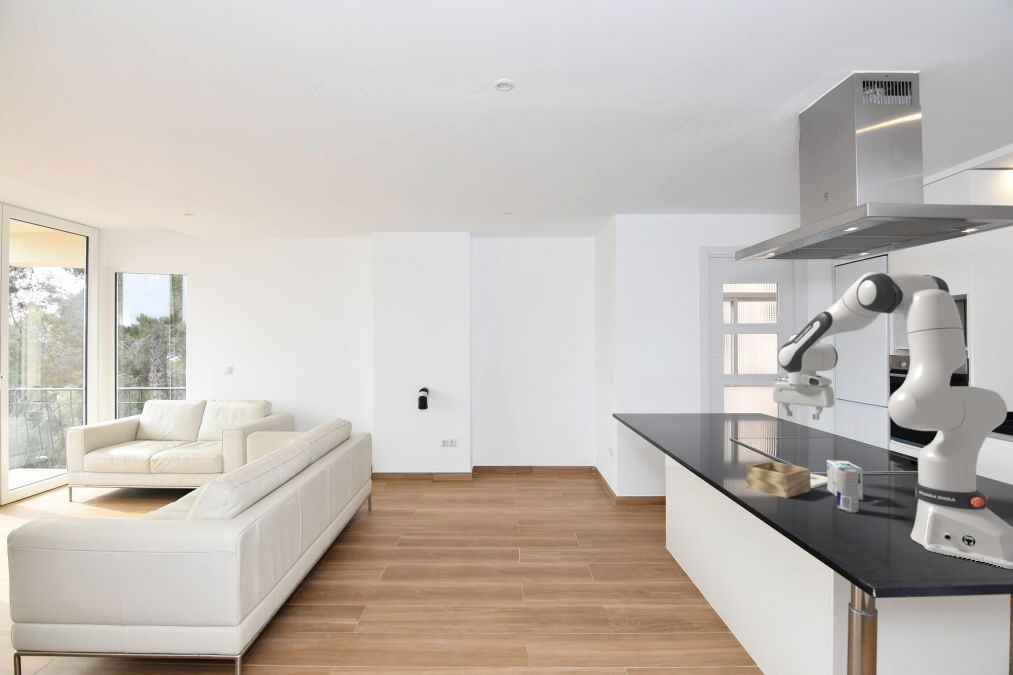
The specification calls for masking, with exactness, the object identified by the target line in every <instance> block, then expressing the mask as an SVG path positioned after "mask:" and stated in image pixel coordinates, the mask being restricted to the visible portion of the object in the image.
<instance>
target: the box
mask: <svg viewBox="0 0 1013 675" xmlns="http://www.w3.org/2000/svg"><path fill="white" fill-rule="evenodd" d="M810 473H811V468H807V467H802V466H797V465H792V464H787V463H783V462H777V461H772V460H768V461H763V462H762V461H761V462H759V463H754V464H749V465H746V466H745V488H746V489H750V490H754V491H758V492H760V493H761V492H762V493H765V494H769V495H772V496H773V495H774V496H777V497H780V498H781V497H782V498H785V499H788V498H792V497H795V496H799V495H801V494H805V493H809V492H811V487H810Z"/></svg>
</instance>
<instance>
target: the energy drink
mask: <svg viewBox="0 0 1013 675" xmlns="http://www.w3.org/2000/svg"><path fill="white" fill-rule="evenodd" d="M836 507H837V508H838V509H842V512H844V513H849V514H850V513H851V514H856V513H858V512H859V500H858V472H857V470H855V469H850V468H838V470H837V496H836Z"/></svg>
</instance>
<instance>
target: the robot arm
mask: <svg viewBox="0 0 1013 675" xmlns="http://www.w3.org/2000/svg"><path fill="white" fill-rule="evenodd" d="M949 288H950V287H949V286H948V283H947V282H946V281H945V280H944V279H943V278H941V277H938V276H936V275H931V274H916V273H907V272H897V273H896V272H893V273H891V272H890V273H884V272H881V271H874V270H873V271H868V272H866V273H864V274H862V275H861V276H860V277H859V278H857V280H855V281H854V282H853V283H852V284H851V285H850V286H849V287H848V289H847V290H846V291H845V292H844V294H842V296H841V297H840V298H839V299H838V300H837V301H836V302H835V303H834V304H832V305H831V306H830V307H828V308H827V309H825V310H824V311H822V312H820V313H819V314H817V315H816V316H815V317H814V318H813V319H812V320H811V321H810V322H808V324H806V325H805V327H803V328H802V329H801V330H800V332H798V333H796V334H793V335H791V336H790V337H789V339H788V340H789V341H788V342H786V343H785V344H783V345H782V346H781V347H780V349H779V350H778V354H777V361H778V364H779V366H780V367H781V368H782V369H783V370H785V371H786V372H787V377H783V378H782V377H777V378H776V379H775V380H773V391H772V392H773V393H772V401H773V402H774V403H776V404H782V407H783V409H784V412H785V416H786V417H790V418H791V417H793V414H794V413H793V411H791V409H790V406H791V405H795V406H805V407H815V410H816V412H815V413H813V414H812V420H815V421H816V420H817V421H819V420H820V415H821V413H822V412H823V410H824V408H827V409H828V408H833V406H834V405H835V393H834V389H833V388H832V386H831V385H832V378H831V379H830V378H828V377H825V376H822V375H820V374H817V372H826V371H831V370H833V369H834V368H835V367H836V366H837V363H838V360H839V355H838V351H837V349H836V348H835V346H833V345H832V344H830V343H826V342H823V341H821V340H823V339H825V338H827V337H830V336H832V335H833V336H834V335H836V334H837V335H838V334H842V333H848V332H856V331H859V330H863V329H864V328H866V327H868V326H869V325H871V324H872V323H873V322H874V321H876V319H877V318H878V317H879V315H880V314H889V315H890V314H898V315H902V317H904V319H905V325H906V334H907V341H908V352H909V366H908V371H907V375H906V377H905V380H904V382H903V383H902V384H901V386H900V387H899V388H898V389H896V390H895V391H894V392H893V393H892V394H891V395H890V397H889V400H888V402H887V410H888V415H889V416H890V418H891V419H892V421H893V422H894V423H895V424H896V425H897V426H899V427H901V428H904V429H907V430H908V429H909V430H915V431H921V432H937V433H936V435H935V437H934V439H933V440H932V441H931V442H930V443H928V444H927V445H925V446H923V447H922V448H921V449H920V450H919V452H918V455H917V470H918V471H917V476H918V477H917V482H916V483H915V491H914V492H915V502H916V504H917V506H916V514H915V520H914V525H913V528H912V530H911V533H910V538H911V539H912V540H913V541H915V542H916V543H918V544H919V545H922V546H923V547H924V549H925V550H927V551H930V552H933V553H937V554H941V555H947V556H950V555H951V557H954V556H956V557H955V558H959V557H962V558H961V559H963V558H966V559H965V560H967V559H971V560H970V561H972V560H975V561H974V562H976V561H980V562H985V563H989V564H993V565H992V566H994V565H996V566H995V567H998V566H1000V567H999V568H1002V567H1003V568H1004V569H1007V570H1013V526H1011V525H1010V524H1009V523H1007V521H1004V520H1003V519H1002V518H1000V517H999V516H998V515H997V514H995V513H994V512H993V511H991V510H990V509H989V508H988V500H989V494H985V495H984V494H983V493H982V492H981V491H979V490H978V489H977V463H978V457H979V454H980V451H981V449H982V447H983V444H984V443H985V441H986V439H987V438H988V436H989V435H990V434H991V432H993V431H994V430H995V429H996V428H998V427H999V426H1001V425H1002V424H1003V423H1004V422H1005V420H1006V419H1007V414H1008V408H1007V406H1008V405H1007V403H1006V401H1005V400H1004V398H1003V397H1002V395H1001V394H1000V393H998V392H996V391H995V390H991V389H986V388H982V387H976V386H968V385H967V386H964V385H963V386H959V385H958V386H951V383H950V382H951V378H952V375H953V373H954V371H956V370H957V369H959V368H960V367H962V366H963V365H965V363H966V361H967V359H968V355H967V348H966V342H965V341H966V340H965V334H964V329H963V323H962V320H961V315H960V313H959V309H958V306H957V304H956V302H955V299H954V297H953V295H952V294H951V293H950V289H949ZM980 562H979V563H980ZM985 563H984V564H985ZM989 564H988V565H989Z"/></svg>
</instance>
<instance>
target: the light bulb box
mask: <svg viewBox="0 0 1013 675" xmlns="http://www.w3.org/2000/svg"><path fill="white" fill-rule="evenodd" d="M838 468H850V469H855V470H857V472H858V501H863V500H864V493H863V492H864V491H863V489H864V488H863V468H862V467H860V466H857V465H856V464H853V463H852V462H850V461H848V460H834V459H833V460H831V459H827V460H826V477H827V484H826V487H827V488H826V489H827V490H828V492H830V493H832V495H834V496H835V497H837V470H838Z"/></svg>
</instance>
